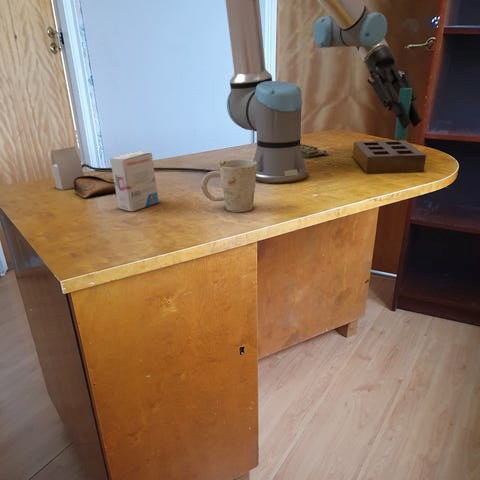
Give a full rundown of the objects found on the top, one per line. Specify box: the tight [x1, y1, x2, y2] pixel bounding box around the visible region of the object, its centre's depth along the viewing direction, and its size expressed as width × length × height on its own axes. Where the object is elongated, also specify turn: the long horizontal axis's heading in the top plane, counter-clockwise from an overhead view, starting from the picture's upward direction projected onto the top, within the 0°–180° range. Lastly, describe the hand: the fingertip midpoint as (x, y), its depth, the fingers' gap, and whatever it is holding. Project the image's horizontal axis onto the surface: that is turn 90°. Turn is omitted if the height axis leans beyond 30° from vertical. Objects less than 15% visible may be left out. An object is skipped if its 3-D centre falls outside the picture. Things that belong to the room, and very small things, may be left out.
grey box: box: [50, 145, 85, 191], centre depth 133 cm, size 4×7×10 cm, turn 135°
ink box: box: [109, 151, 159, 212], centre depth 114 cm, size 8×5×12 cm, turn 141°
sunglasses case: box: [73, 171, 116, 199], centre depth 130 cm, size 18×7×7 cm
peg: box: [394, 88, 412, 140], centre depth 138 cm, size 3×3×13 cm
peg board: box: [352, 139, 427, 174], centre depth 144 cm, size 16×22×4 cm
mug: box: [200, 158, 257, 213], centre depth 110 cm, size 8×13×10 cm, turn 89°
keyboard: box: [300, 143, 327, 159], centre depth 165 cm, size 22×9×2 cm, turn 29°
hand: (412, 124), depth 137 cm, fingers closed on peg, 3 cm apart
